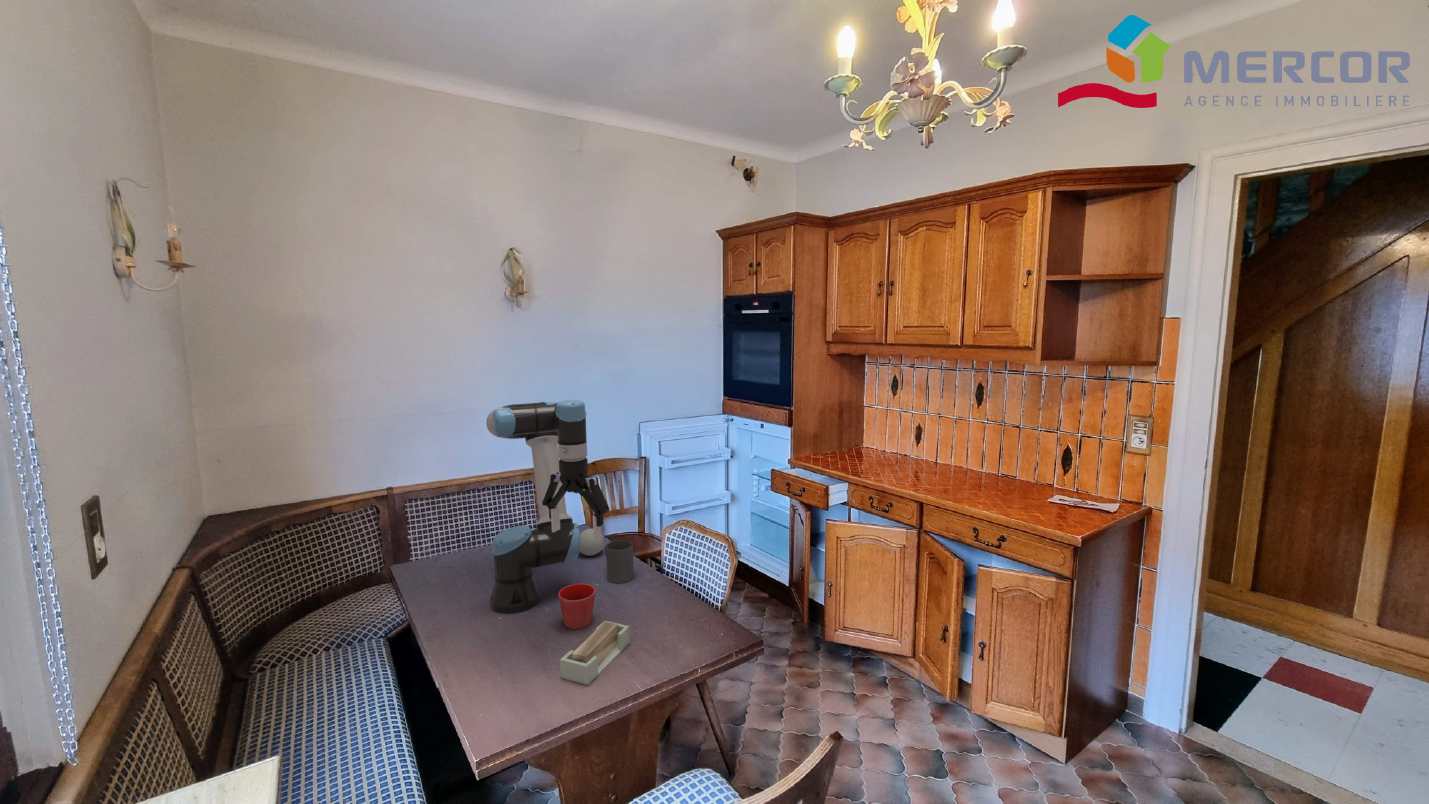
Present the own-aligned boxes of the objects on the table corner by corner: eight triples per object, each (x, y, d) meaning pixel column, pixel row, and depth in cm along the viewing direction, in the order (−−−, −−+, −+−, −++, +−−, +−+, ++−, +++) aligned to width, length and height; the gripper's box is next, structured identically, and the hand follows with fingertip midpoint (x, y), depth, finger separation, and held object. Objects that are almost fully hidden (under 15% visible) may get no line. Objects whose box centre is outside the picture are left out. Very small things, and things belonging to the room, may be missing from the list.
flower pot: (603, 616, 173) (602, 585, 172) (583, 634, 163) (582, 602, 162) (573, 610, 177) (571, 580, 176) (552, 628, 167) (550, 597, 165)
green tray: (560, 678, 144) (560, 659, 143) (605, 637, 162) (604, 620, 161) (587, 685, 141) (587, 666, 140) (629, 643, 159) (629, 626, 158)
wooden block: (573, 675, 144) (572, 653, 143) (605, 641, 159) (604, 621, 158) (587, 678, 143) (586, 656, 142) (618, 644, 157) (617, 624, 157)
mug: (639, 577, 199) (638, 544, 197) (616, 586, 193) (615, 552, 191) (617, 565, 209) (616, 534, 207) (595, 573, 203) (593, 541, 201)
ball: (609, 551, 221) (608, 527, 220) (594, 561, 212) (592, 536, 211) (588, 547, 225) (587, 523, 224) (572, 557, 216) (570, 532, 215)
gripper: (526, 457, 155) (530, 532, 158) (604, 465, 146) (607, 545, 149) (544, 451, 162) (548, 523, 165) (620, 458, 153) (623, 535, 156)
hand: (576, 534), depth 157 cm, fingers open, 13 cm apart
